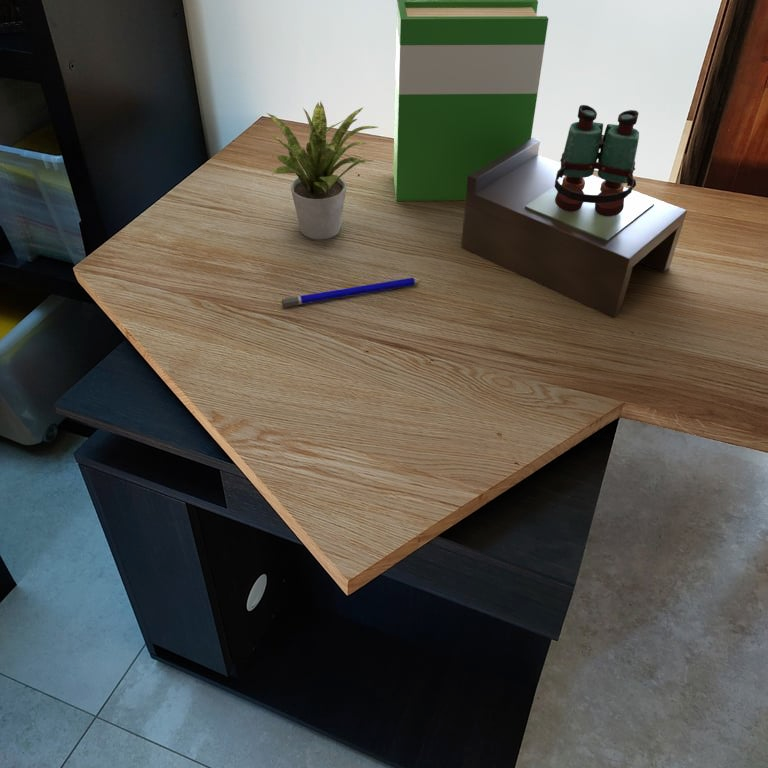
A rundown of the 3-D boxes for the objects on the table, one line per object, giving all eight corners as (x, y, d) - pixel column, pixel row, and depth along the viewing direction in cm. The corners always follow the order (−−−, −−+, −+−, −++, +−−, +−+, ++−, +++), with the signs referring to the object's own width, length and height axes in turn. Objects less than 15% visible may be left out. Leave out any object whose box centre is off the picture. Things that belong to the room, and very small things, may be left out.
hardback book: (513, 174, 114) (536, -1, 98) (522, 199, 109) (548, 18, 93) (393, 175, 114) (397, -1, 97) (396, 201, 108) (400, 19, 92)
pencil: (282, 308, 89) (282, 301, 89) (281, 304, 90) (280, 297, 89) (422, 285, 93) (422, 278, 92) (420, 281, 94) (420, 274, 93)
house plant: (399, 247, 99) (403, 124, 88) (298, 273, 95) (288, 147, 84) (354, 196, 109) (352, 80, 98) (260, 217, 104) (247, 98, 93)
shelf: (669, 267, 97) (692, 194, 90) (613, 318, 89) (633, 243, 82) (522, 206, 108) (532, 137, 101) (461, 247, 100) (467, 175, 93)
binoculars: (561, 141, 82) (570, 95, 89) (547, 223, 90) (556, 175, 96) (648, 151, 81) (651, 103, 87) (627, 234, 88) (630, 184, 95)
